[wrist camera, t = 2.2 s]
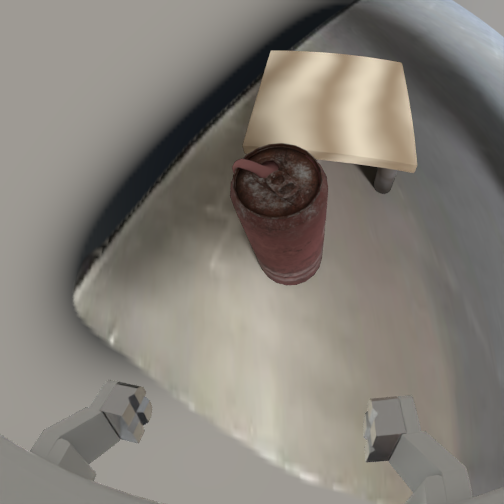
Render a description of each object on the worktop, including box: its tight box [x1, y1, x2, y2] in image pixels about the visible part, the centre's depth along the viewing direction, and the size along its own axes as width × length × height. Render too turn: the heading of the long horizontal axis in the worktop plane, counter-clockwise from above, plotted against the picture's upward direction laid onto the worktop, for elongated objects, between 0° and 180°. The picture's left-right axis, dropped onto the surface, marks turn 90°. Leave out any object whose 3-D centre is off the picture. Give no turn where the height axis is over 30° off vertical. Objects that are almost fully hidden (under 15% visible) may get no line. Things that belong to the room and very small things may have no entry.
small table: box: [243, 51, 417, 194], centre depth 33 cm, size 16×16×7 cm
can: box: [230, 143, 328, 285], centre depth 25 cm, size 6×6×14 cm
